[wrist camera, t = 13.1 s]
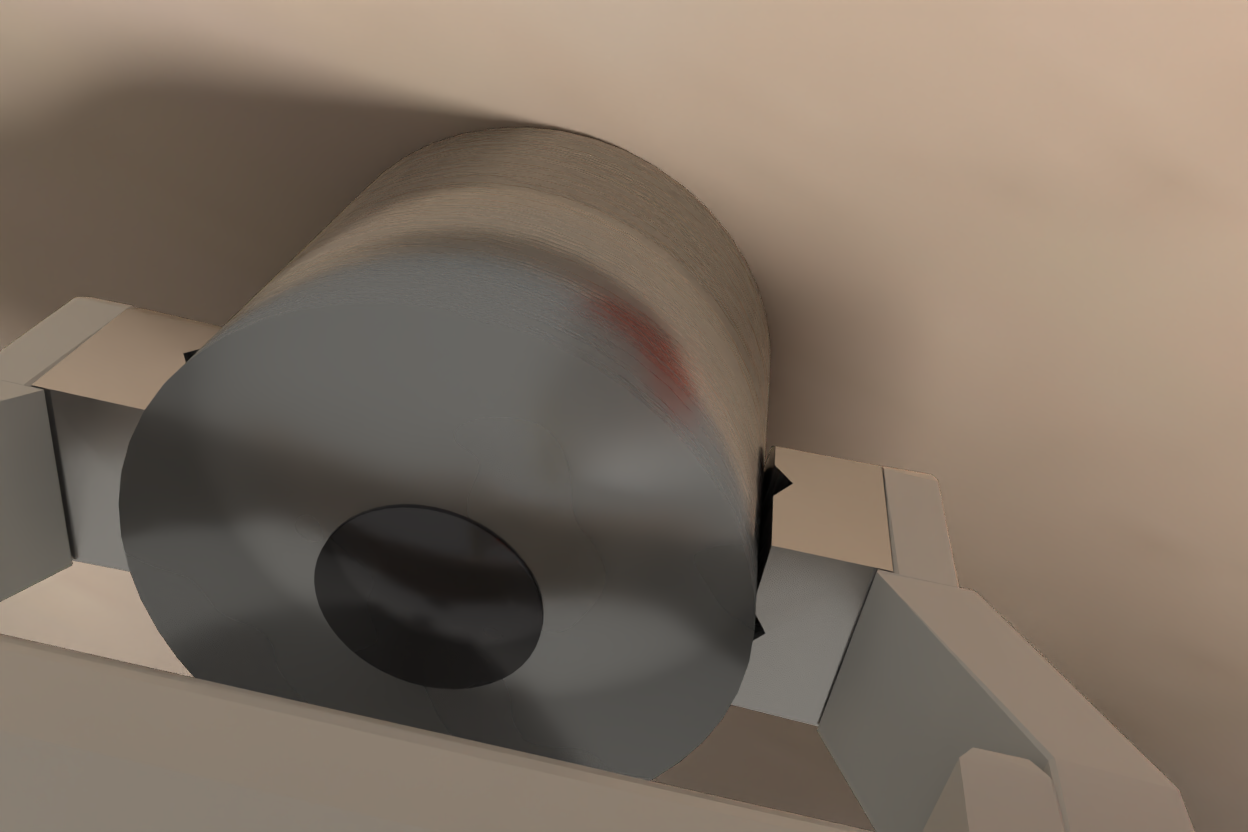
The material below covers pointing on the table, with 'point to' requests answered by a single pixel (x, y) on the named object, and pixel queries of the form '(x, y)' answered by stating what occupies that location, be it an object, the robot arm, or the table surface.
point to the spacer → (476, 461)
